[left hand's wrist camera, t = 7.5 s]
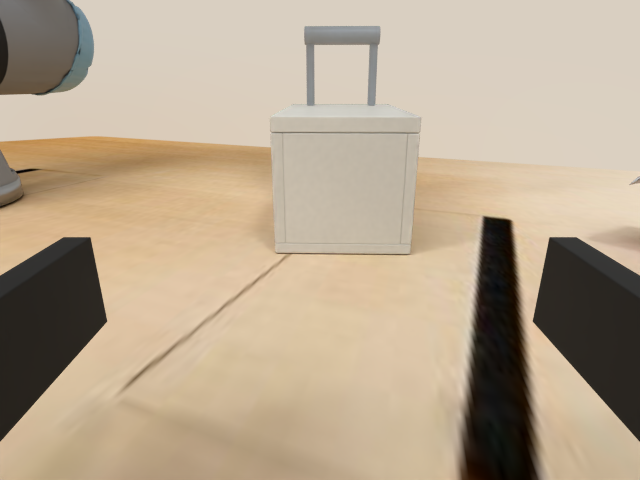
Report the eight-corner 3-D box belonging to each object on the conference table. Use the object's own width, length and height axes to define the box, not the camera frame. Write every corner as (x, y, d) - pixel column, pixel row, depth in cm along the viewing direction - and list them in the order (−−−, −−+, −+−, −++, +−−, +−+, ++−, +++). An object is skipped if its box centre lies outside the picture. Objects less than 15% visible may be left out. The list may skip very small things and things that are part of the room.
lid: (292, 114, 45) (291, 29, 42) (387, 114, 45) (392, 29, 42) (270, 132, 29) (264, -5, 26) (420, 132, 28) (431, -6, 26)
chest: (293, 197, 47) (292, 115, 44) (384, 197, 47) (389, 115, 44) (275, 253, 32) (270, 133, 29) (410, 254, 31) (420, 133, 28)
